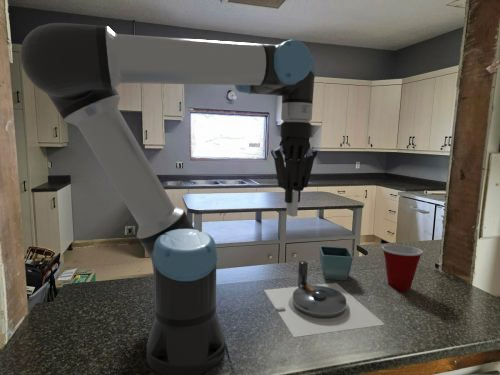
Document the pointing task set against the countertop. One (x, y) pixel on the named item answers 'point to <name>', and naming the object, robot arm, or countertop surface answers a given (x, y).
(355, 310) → the panel
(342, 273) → the flower pot
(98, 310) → the countertop surface
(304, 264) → the dial
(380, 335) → the countertop surface
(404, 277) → the plastic cup
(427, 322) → the countertop surface
